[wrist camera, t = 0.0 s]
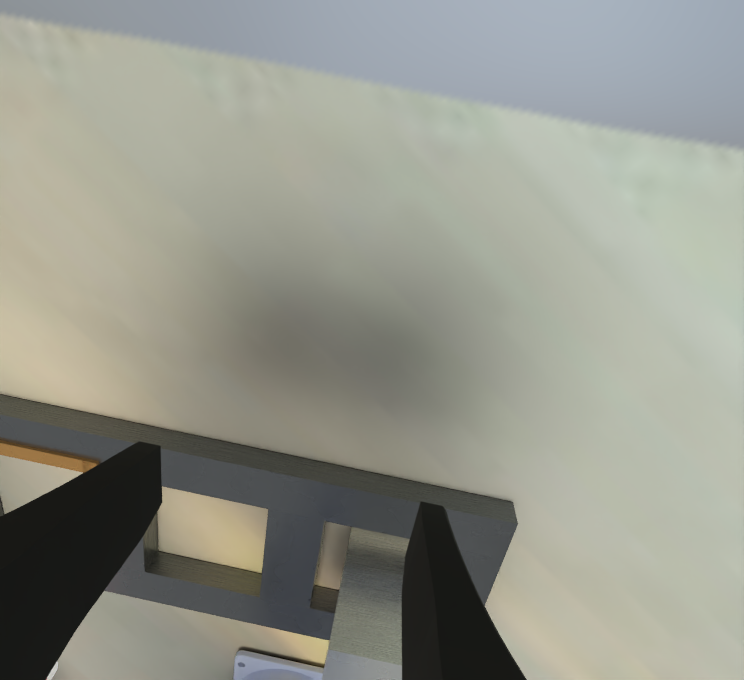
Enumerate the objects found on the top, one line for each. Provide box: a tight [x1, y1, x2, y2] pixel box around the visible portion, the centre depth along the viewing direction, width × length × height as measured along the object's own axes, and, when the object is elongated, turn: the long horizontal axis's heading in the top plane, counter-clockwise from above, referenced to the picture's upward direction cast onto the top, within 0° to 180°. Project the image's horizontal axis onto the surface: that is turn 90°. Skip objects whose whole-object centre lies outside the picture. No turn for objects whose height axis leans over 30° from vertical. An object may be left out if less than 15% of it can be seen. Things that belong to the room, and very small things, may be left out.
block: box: [322, 527, 410, 680], centre depth 24 cm, size 4×4×7 cm
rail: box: [0, 395, 518, 640], centre depth 27 cm, size 12×32×2 cm, turn 80°
